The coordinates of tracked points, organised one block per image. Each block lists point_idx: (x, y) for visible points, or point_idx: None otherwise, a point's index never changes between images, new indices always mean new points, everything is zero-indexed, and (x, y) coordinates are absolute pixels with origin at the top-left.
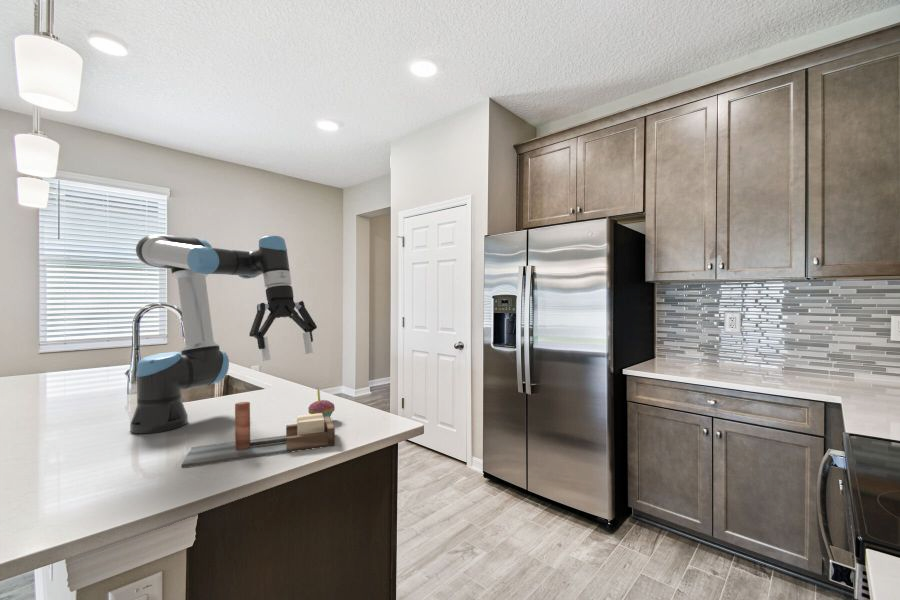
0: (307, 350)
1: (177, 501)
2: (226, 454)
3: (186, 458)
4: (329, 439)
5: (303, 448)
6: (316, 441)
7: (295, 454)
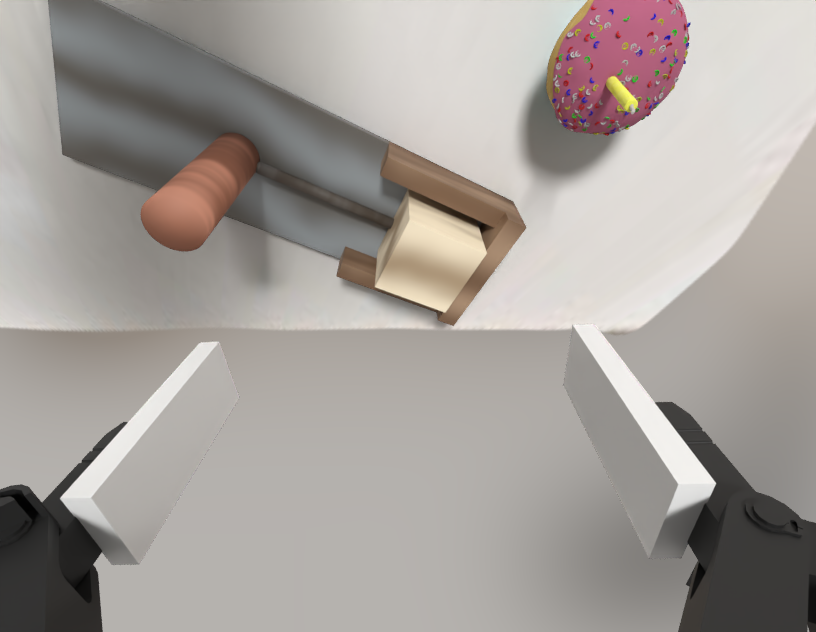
0: (576, 368)
1: (113, 315)
2: None
3: (63, 110)
4: None
5: None
6: None
7: None
